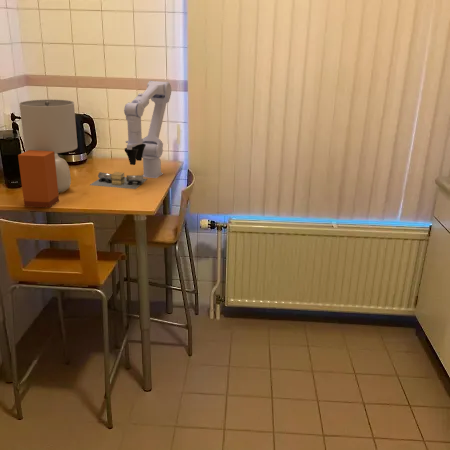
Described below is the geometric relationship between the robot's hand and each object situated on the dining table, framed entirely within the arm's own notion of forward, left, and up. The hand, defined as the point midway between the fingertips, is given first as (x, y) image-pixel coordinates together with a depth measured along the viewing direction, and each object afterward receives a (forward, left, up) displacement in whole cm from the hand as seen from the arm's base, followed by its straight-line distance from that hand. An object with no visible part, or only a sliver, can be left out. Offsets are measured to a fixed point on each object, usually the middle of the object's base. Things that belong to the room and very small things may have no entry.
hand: (135, 162), depth 216 cm
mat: (0, -8, -10) cm, 13 cm away
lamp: (+18, -29, -10) cm, 36 cm away
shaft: (+1, -14, -10) cm, 17 cm away
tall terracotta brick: (+34, -26, -10) cm, 44 cm away
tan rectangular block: (+3, -7, -9) cm, 12 cm away
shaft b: (+1, 0, -10) cm, 10 cm away
